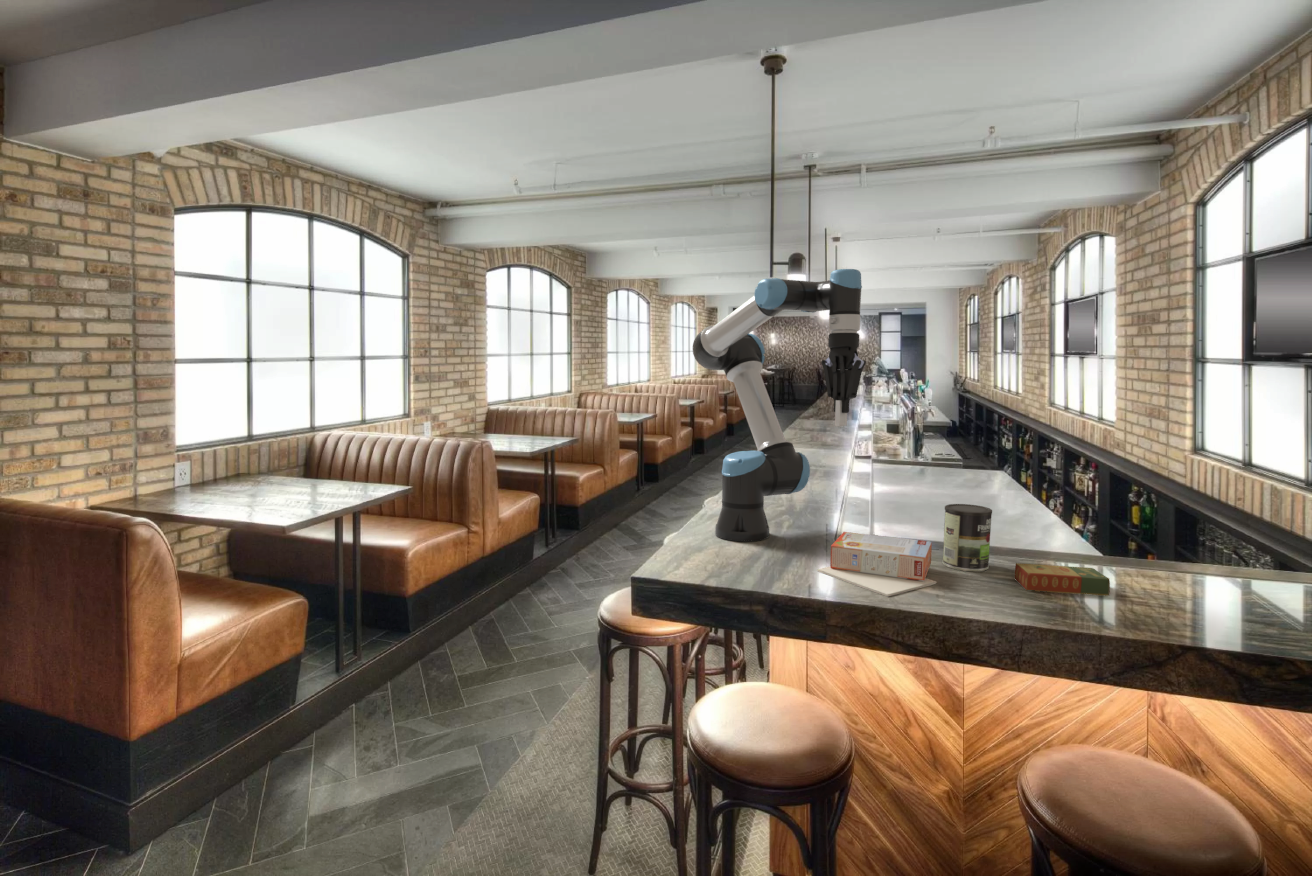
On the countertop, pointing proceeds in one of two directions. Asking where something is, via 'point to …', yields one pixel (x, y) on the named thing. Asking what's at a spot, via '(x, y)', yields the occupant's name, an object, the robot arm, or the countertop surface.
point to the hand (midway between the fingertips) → (840, 425)
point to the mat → (877, 581)
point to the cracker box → (882, 555)
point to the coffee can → (967, 537)
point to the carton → (1062, 579)
